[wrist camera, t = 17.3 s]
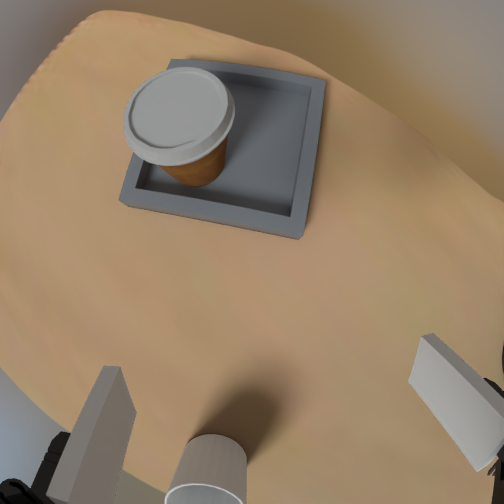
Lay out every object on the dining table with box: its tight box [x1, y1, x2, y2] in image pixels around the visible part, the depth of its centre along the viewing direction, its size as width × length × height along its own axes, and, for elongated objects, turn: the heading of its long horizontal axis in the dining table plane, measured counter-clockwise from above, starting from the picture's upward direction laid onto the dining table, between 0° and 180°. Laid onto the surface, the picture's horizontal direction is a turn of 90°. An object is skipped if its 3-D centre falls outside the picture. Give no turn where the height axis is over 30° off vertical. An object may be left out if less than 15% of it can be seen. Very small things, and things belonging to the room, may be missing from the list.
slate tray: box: [119, 59, 326, 240], centre depth 32 cm, size 20×20×3 cm
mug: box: [165, 434, 247, 504], centre depth 25 cm, size 12×8×10 cm, turn 147°
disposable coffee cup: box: [124, 67, 235, 187], centre depth 27 cm, size 10×10×12 cm
